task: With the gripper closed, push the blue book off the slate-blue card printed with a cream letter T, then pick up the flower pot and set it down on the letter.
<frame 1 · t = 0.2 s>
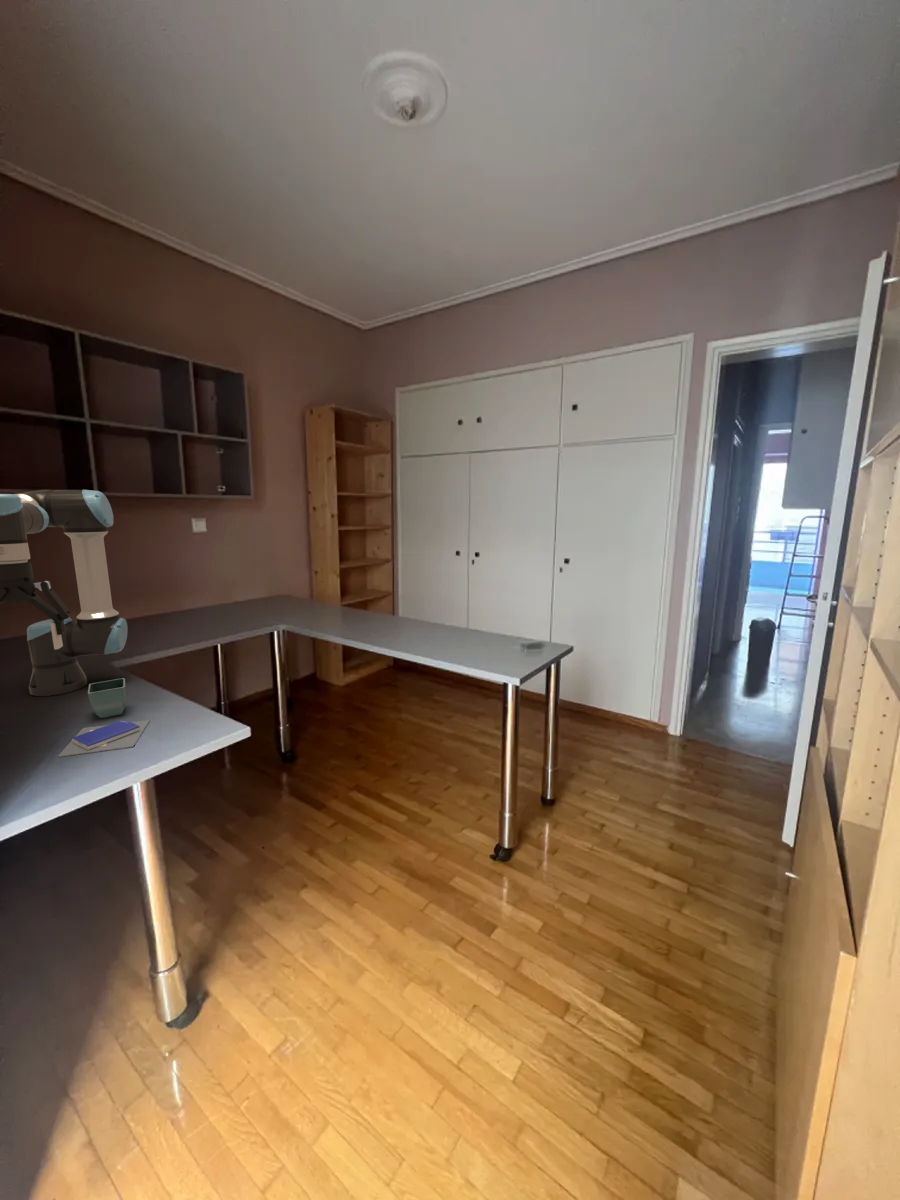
hand: (24, 650, 116), 26 cm above the table, tool pointing down, fingers open, 13 cm apart
letter card: (107, 737, 128), on the table
blue book: (107, 737, 128), resting on letter card
flower pot: (111, 714, 143), on the table
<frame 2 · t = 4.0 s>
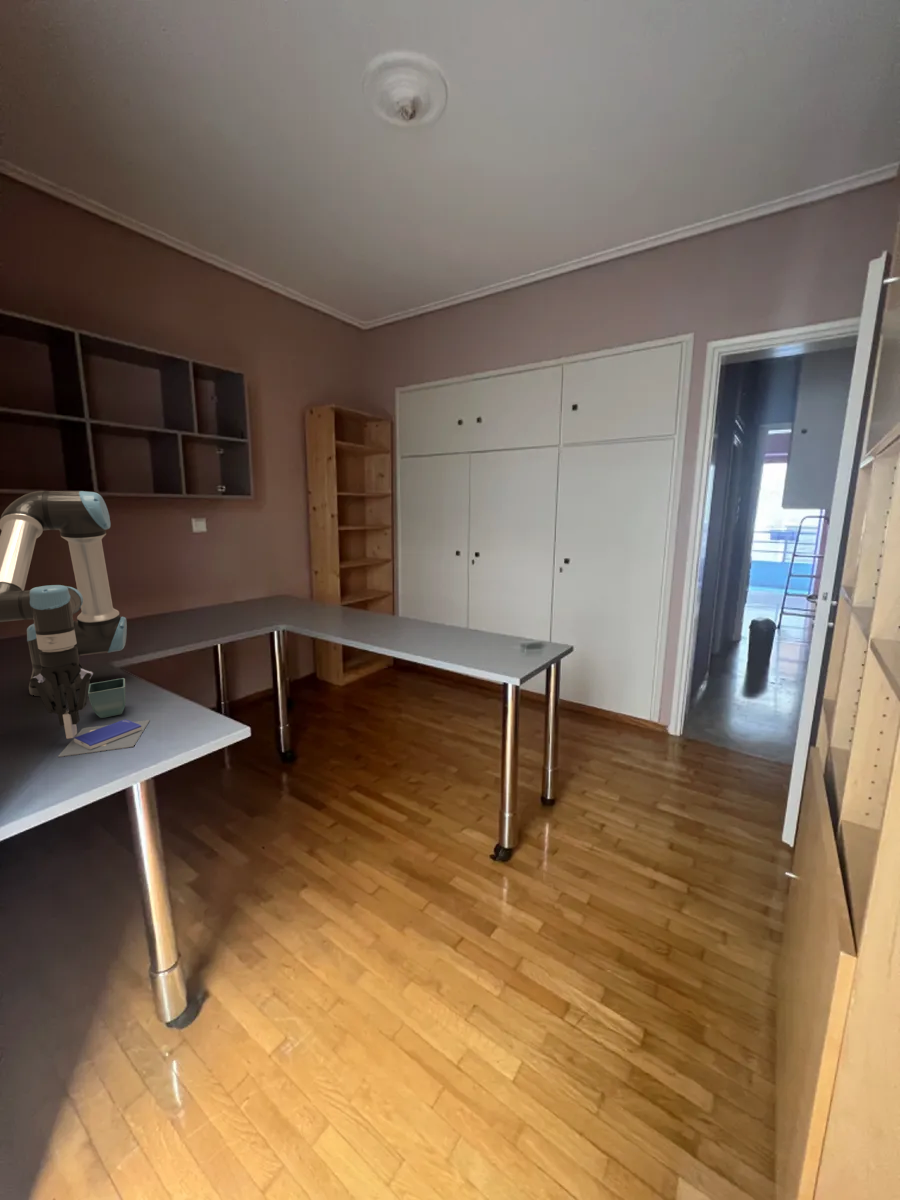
hand: (72, 735, 125), 2 cm above the table, tool pointing down, fingers closed
blue book: (109, 737, 128), resting on letter card, touching gripper
everything else where it was.
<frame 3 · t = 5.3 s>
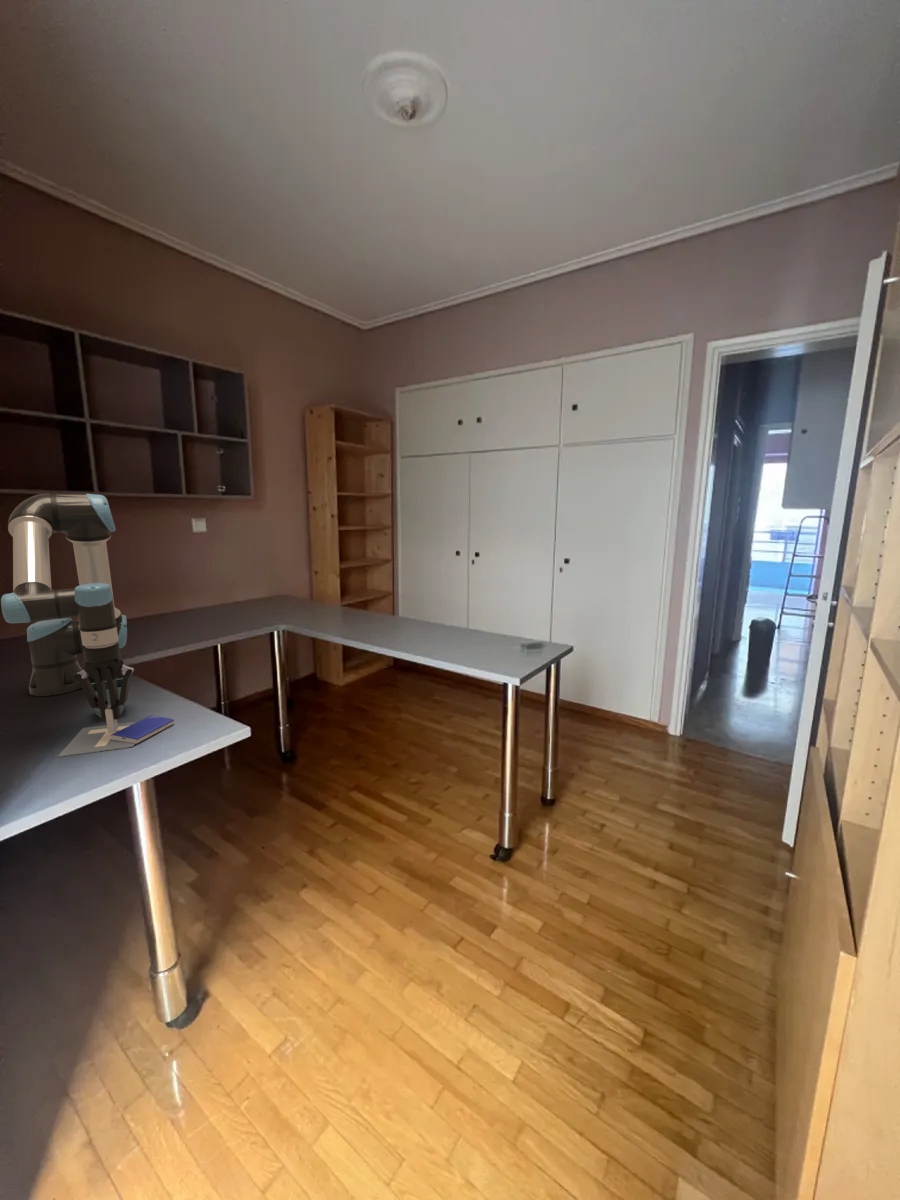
hand: (113, 730, 128), 2 cm above the table, tool pointing down, fingers closed
blue book: (143, 732, 131), on the table, touching letter card
everything else where it was.
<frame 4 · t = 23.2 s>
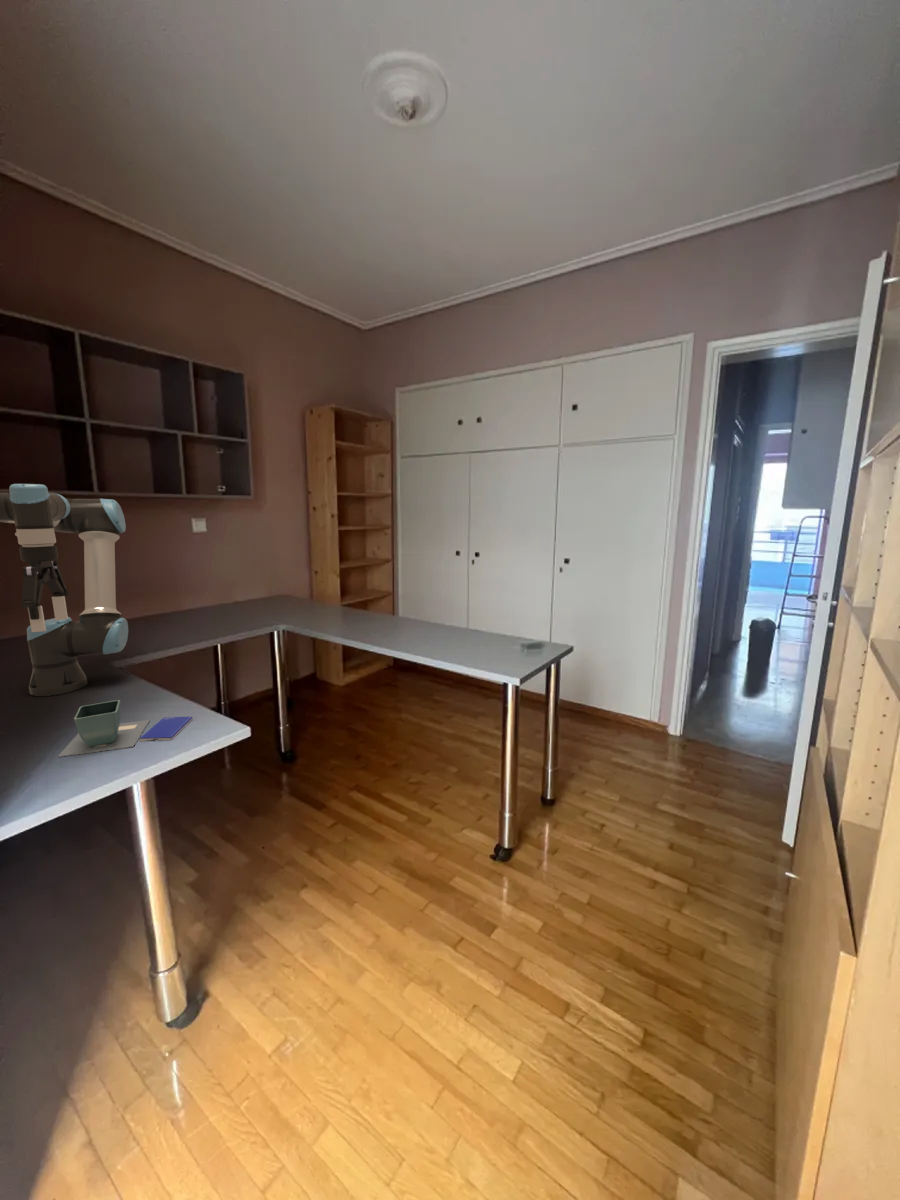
hand: (51, 625, 130), 29 cm above the table, tool pointing down, fingers open, 13 cm apart
blue book: (167, 732, 133), on the table
flower pot: (102, 742, 126), resting on letter card
at the end: flower pot inside the target area on the letter card (2.6 cm from its centre), point 0.1 cm above the letter card's base; blue book touching table; flower pot tilted 0° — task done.
